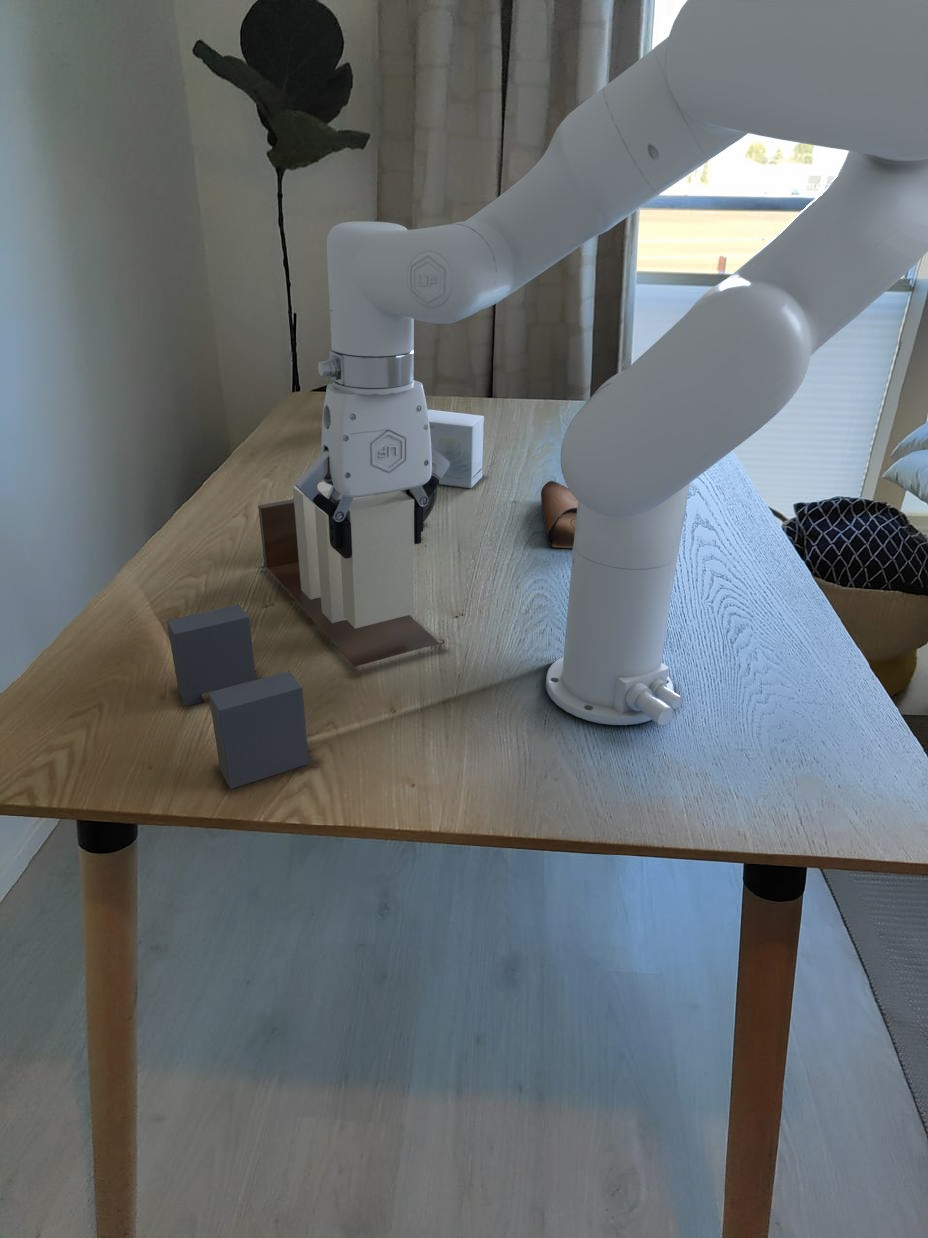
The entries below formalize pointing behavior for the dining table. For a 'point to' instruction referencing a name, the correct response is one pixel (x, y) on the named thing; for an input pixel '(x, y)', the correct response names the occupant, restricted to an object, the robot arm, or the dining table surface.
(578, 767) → the dining table surface
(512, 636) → the dining table surface
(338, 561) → the cream book
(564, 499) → the sunglasses case
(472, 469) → the cosmetics box
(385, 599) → the cream book
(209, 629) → the grey book
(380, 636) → the book rack
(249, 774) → the grey book
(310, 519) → the cream book
